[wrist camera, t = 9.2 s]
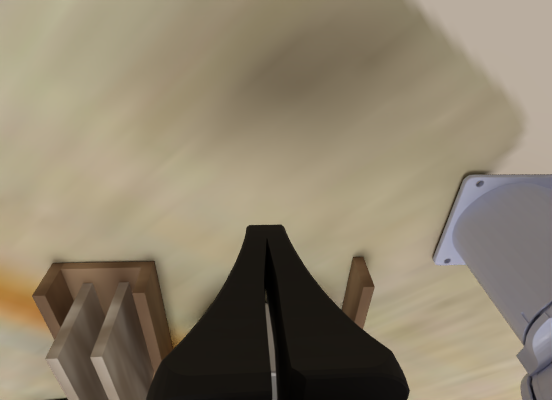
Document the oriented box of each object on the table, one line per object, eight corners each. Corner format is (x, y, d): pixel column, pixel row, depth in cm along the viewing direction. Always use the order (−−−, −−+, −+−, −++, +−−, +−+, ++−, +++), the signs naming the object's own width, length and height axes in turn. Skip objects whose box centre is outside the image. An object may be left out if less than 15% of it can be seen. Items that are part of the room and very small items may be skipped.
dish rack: (363, 257, 28) (391, 331, 22) (336, 371, 37) (351, 444, 31) (52, 263, 26) (1, 345, 20) (104, 382, 35) (77, 461, 29)
